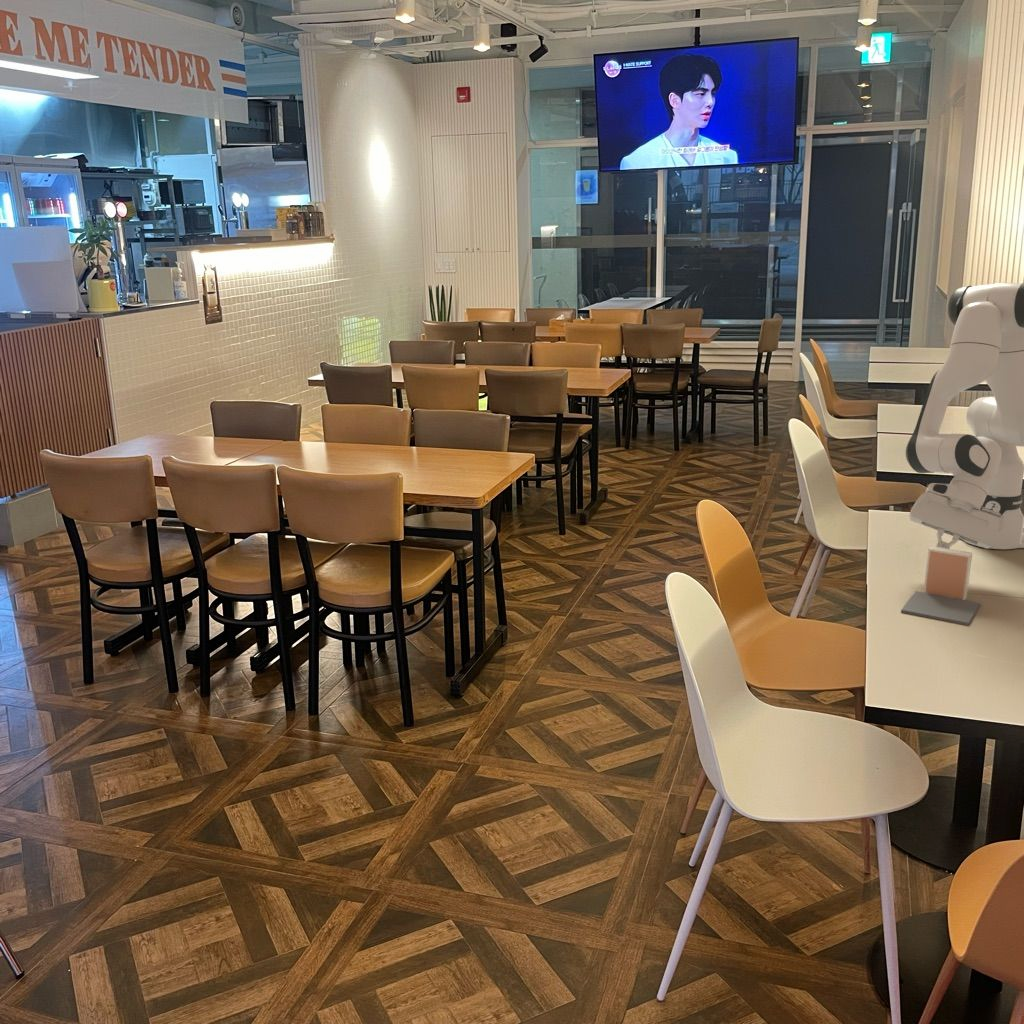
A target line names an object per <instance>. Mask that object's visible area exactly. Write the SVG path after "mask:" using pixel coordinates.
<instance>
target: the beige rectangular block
mask: <svg viewBox="0 0 1024 1024" xmlns="http://www.w3.org/2000/svg"><path fill="white" fill-rule="evenodd" d="M972 559H973V552H971V551H966V550H965V551H963V550H959V549H951V548H949V549H946V548H940V547H936V546H932V545H931V546H930V547H929V548H928V553H927V559H926V569H925V576H924V577H925V578H924V586H923V592H924V593H929V594H935V595H940V596H946V597H951V598H957V599H962V600H967V597H968V591H969V581H970V575H971V567H972V561H973V560H972Z"/></svg>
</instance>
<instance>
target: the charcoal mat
mask: <svg viewBox="0 0 1024 1024" xmlns="http://www.w3.org/2000/svg"><path fill="white" fill-rule="evenodd" d="M980 606H981V602H977V601H972V600H967V599H965V600H962V599H957V598H951V597H946V596H940V595H935V594H929V593H924V591H917V590H915V591H914V593H913V594H912V595H911V597H910V598H909V599H908V601H906V603H905V604H904V605H903V607H902V608H901V610H900V613H902V614H903V613H904V614H908V615H913V616H918V617H925V618H928V619H935V620H940V621H945V622H949V623H953V624H959V625H964V626H969V625H970V623H971V622H972V620H973V618H974V616H975V615H976V613H977V612H978V610H979V608H980Z"/></svg>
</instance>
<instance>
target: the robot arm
mask: <svg viewBox="0 0 1024 1024" xmlns="http://www.w3.org/2000/svg"><path fill="white" fill-rule="evenodd" d="M947 306H948V307H947V314H948V318H949V320H950V322H951V323H952V324H953V326H954V329H953V331H952V337H951V340H950V346H949V350H948V354H947V356H946V359H945V361H944V362H943V364H942V366H941V367H940V369H939V370H937V371H936V372H935V373H934V375H933V376H932V378H931V380H930V383H929V385H928V388H927V391H926V393H925V396H924V400H923V403H922V406H921V409H920V412H919V414H918V415H919V416H918V418H917V422H916V425H915V427H914V430H913V431H912V432H913V433H912V435H911V437H910V438H909V440H908V442H907V445H906V448H905V458H906V460H907V463H908V465H909V466H910V467H911V468H912V470H913V471H915V472H916V473H919V474H932V473H933V474H935V473H939V474H940V473H941V474H942V473H943V474H951V475H953V478H952V480H950V483H937V482H930V483H929V484H928V486H927V487H926V489H925V492H922V493H921V494H920V495H919V496H918V498H917V499H916V501H915V502H914V504H913V506H912V507H911V509H910V512H909V515H908V517H909V519H910V521H911V522H913V523H917V524H919V525H922V526H924V527H927V528H930V529H933V530H935V531H937V532H936V540H937V543H936V546H935V547H940V548H946V549H951V547H952V546H954V545H955V544H957V543H958V542H959V540H962V541H964V542H965V543H968V544H970V545H972V546H977V547H980V548H984V549H986V550H987V549H992V550H993V549H994V550H1012V549H1013V550H1014V549H1024V514H1023V513H1022V511H1021V507H1022V503H1023V494H1022V487H1023V483H1024V482H1023V481H1024V461H1023V460H1022V457H1020V455H1019V452H1018V449H1017V447H1021V448H1022V447H1024V282H1022V283H1017V282H995V283H988V284H979V285H974V286H973V285H965V286H962V287H959V288H957V289H956V290H954V292H953V293H952V294H951V295H950V297H949V301H948V305H947ZM984 382H985V383H986V384H987V385H988V387H989V388H990V389H991V392H992V394H993V396H981V397H979V398H977V399H974V400H973V401H972V402H971V404H970V405H969V406H968V408H967V411H966V422H967V425H968V426H969V427H970V429H971V431H972V434H968V433H940V429H941V426H942V424H943V420H944V417H945V414H946V412H947V409H948V405H949V404H950V402H951V400H952V399H954V398H955V397H956V396H957V395H958V394H960V393H962V392H963V391H965V390H968V389H971V388H972V387H975V386H978V385H980V384H982V383H984ZM944 534H946V535H949V536H951V537H952V539H951V541H950V542H946V541H943V539H942V537H943V536H944Z"/></svg>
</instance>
